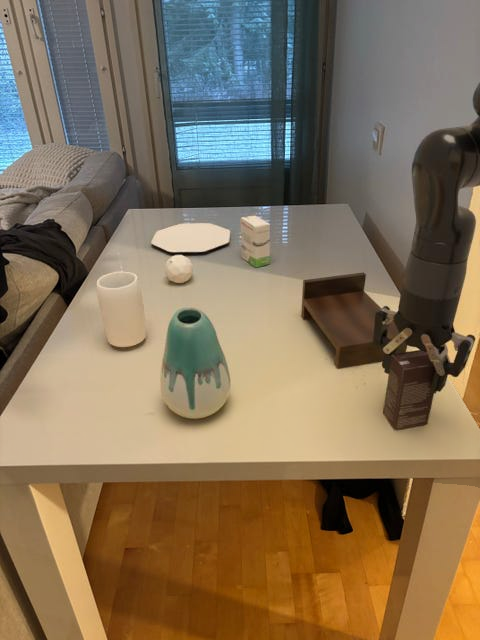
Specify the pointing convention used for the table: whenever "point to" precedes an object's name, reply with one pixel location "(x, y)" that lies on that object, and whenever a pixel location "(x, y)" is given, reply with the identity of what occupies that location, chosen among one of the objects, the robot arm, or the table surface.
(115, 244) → the table surface
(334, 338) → the rack
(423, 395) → the box
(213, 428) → the table surface
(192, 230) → the plate
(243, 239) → the ink box
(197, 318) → the vase
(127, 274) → the cup
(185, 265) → the ornament
